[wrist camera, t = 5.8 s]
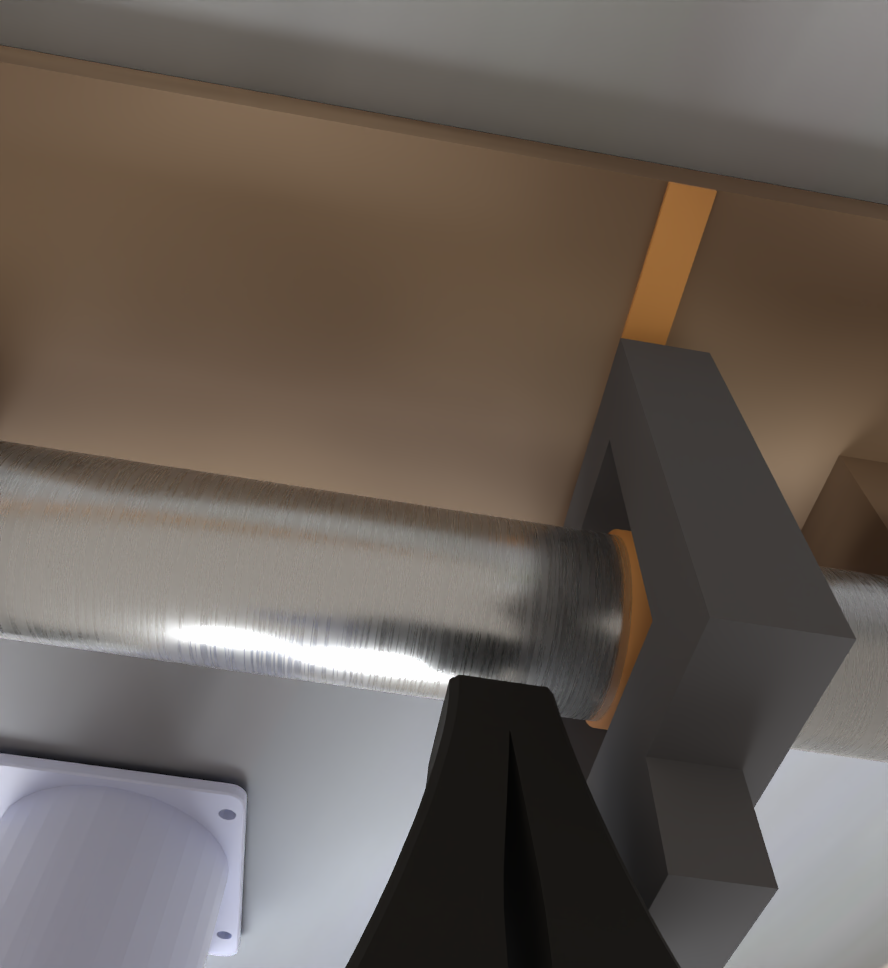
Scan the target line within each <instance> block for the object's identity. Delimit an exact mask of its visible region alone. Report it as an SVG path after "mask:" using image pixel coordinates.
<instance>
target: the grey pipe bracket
mask: <svg viewBox="0 0 888 968" xmlns="http://www.w3.org/2000/svg"><path fill="white" fill-rule="evenodd" d="M563 527H567V528H574V529H580V530H587V531H593V532H600V533H606V534H608V533H609V532H610V531H612V530H614V529H620V530H627V531H631V532H632V537H633V541H634V545H635V549H636V553H637V558H638V562H639V566H640V570H641V574H642V579H643V583H644V587H645V591H646V595H647V600H648V604H649V608H650V612H651V616H652V623H651V626H650V628H649V631H648V633H647V636H646V638H645V640H644V643H643V645H642V648H641V650H640V653H639V655H638V657H637V660H636V662H635V665H634V667H633V670H632V672H631V674H630V677H629V679H628V682H627V684H626V687H625V689H624V691H623V694H622V696H621V699H620V701H619V704H618V706H617V708H616V711H615V713H614V716H613V718H612V721H611V723H610V726H609V728H608V730H605V729H598V728H592V727H591V726H589V725H588V723H587V722H586V720H581V719H574V718H567V717H561V718H562V721H563V724H564V727H565V729H566V732H567V735H568V737H569V740H570V743H571V745H572V748H573V750H574V753H575V755H576V758H577V760H578V763H579V765H580V768H581V770H582V773H583V775H584V778H585V780H586V782H587V785H588V787H589V789H590V792H591V794H592V796H593V799H594V801H595V803H596V805H597V807H598V810H599V812H600V814H601V816H602V818H603V820H604V823H605V825H606V827H607V829H608V831H609V833H610V836H611V838H612V840H613V842H614V844H615V846H616V848H617V850H618V853H619V855H620V857H621V859H622V861H623V863H624V865H625V867H626V869H627V871H628V873H629V875H630V877H631V879H632V880H633V882H634V884H635V886H636V888H637V890H638V892H639V894H640V896H641V898H642V899H643V901H644V903H645V905H646V907H647V909H648V911H649V913H650V915H651V916H652V918H653V920H654V922H655V924H656V925H657V927H658V929H659V931H660V933H661V934H662V936H663V938H664V940H665V941H666V943H667V945H668V947H669V948H670V950H671V952H672V953H673V955H674V957H675V959H676V960H677V962H678V964H679V965H680V967H681V968H723V967H724V966H725V964H726V963H727V961H728V960H729V959H730V957H731V956H732V954H733V953H734V951H735V950H736V949H737V947H738V946H739V944H740V943H741V941H742V940H743V939H744V937H745V936H746V934H747V933H748V931H749V930H750V929H751V927H752V926H753V924H754V923H755V921H756V920H757V918H758V917H759V916H760V914H761V913H762V911H763V910H764V908H765V907H766V906H767V904H768V903H769V901H770V900H771V898H772V897H773V896H774V894H775V893H776V891H777V890H778V886H777V883H776V880H775V876H774V873H773V870H772V866H771V863H770V860H769V857H768V853H767V850H766V847H765V843H764V840H763V837H762V833H761V830H760V827H759V823H758V820H757V817H756V813H755V810H754V807H755V805H756V804H757V802H758V800H759V799H760V797H761V795H762V794H763V792H764V790H765V789H766V787H767V785H768V784H769V782H770V781H771V779H772V777H773V776H774V774H775V772H776V771H777V769H778V767H779V766H780V764H781V762H782V761H783V759H784V758H785V756H786V754H787V753H788V751H789V749H790V748H791V746H792V744H793V743H794V741H795V739H796V738H797V736H798V735H799V733H800V731H801V730H802V728H803V726H804V725H805V723H806V721H807V720H808V718H809V716H810V715H811V713H812V712H813V710H814V708H815V707H816V705H817V703H818V702H819V700H820V698H821V697H822V695H823V693H824V692H825V690H826V689H827V687H828V685H829V684H830V682H831V680H832V679H833V677H834V675H835V674H836V672H837V671H838V669H839V667H840V666H841V664H842V662H843V661H844V659H845V657H846V656H847V654H848V652H849V651H850V649H851V648H852V646H853V644H854V643H855V641H856V637H855V635H854V633H853V631H852V629H851V628H850V626H849V624H848V622H847V620H846V618H845V616H844V614H843V612H842V610H841V608H840V606H839V604H838V602H837V600H836V598H835V596H834V594H833V592H832V590H831V588H830V586H829V585H828V583H827V581H826V579H825V577H824V575H823V573H822V571H821V569H820V567H819V565H818V563H817V561H816V559H815V557H814V555H813V553H812V551H811V549H810V547H809V545H808V544H807V542H806V540H805V538H804V536H803V534H802V532H801V530H800V528H799V526H798V524H797V522H796V520H795V518H794V516H793V514H792V512H791V510H790V508H789V506H788V504H787V503H786V501H785V499H784V497H783V495H782V493H781V491H780V489H779V487H778V485H777V483H776V481H775V479H774V477H773V475H772V473H771V471H770V469H769V467H768V465H767V463H766V461H765V460H764V458H763V456H762V454H761V452H760V450H759V448H758V446H757V444H756V442H755V440H754V438H753V436H752V434H751V432H750V430H749V428H748V426H747V424H746V422H745V420H744V419H743V417H742V415H741V413H740V411H739V409H738V407H737V405H736V403H735V401H734V399H733V397H732V395H731V393H730V391H729V389H728V387H727V385H726V383H725V381H724V379H723V378H722V376H721V374H720V372H719V370H718V368H717V366H716V364H715V362H714V360H713V358H712V356H711V354H710V353H708V352H702V351H696V350H690V349H684V348H678V347H672V346H666V345H660V344H654V343H648V342H642V341H636V340H630V339H624V338H620V341H619V344H618V347H617V351H616V354H615V357H614V361H613V364H612V367H611V371H610V374H609V377H608V380H607V384H606V387H605V390H604V394H603V397H602V400H601V403H600V407H599V410H598V413H597V417H596V420H595V423H594V427H593V430H592V433H591V436H590V440H589V443H588V446H587V450H586V453H585V456H584V460H583V463H582V466H581V469H580V473H579V476H578V479H577V483H576V486H575V489H574V492H573V496H572V499H571V502H570V506H569V509H568V512H567V516H566V519H565V522H564V525H563Z"/></svg>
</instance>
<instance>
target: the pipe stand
mask: <svg viewBox="0 0 888 968" xmlns="http://www.w3.org/2000/svg"><path fill="white" fill-rule="evenodd" d="M620 338H624V339H630V340H636V341H642V342H648V343H654V344H660V345H666V346H672V347H678V348H684V349H690V350H696V351H702V352H708V353H710V354H711V356H712V358H713V360H714V362H715V364H716V366H717V368H718V370H719V372H720V374H721V376H722V378H723V379H724V381H725V383H726V385H727V387H728V389H729V391H730V393H731V395H732V397H733V399H734V401H735V403H736V405H737V407H738V409H739V411H740V413H741V415H742V417H743V419H744V420H745V422H746V424H747V426H748V428H749V430H750V432H751V434H752V436H753V438H754V440H755V442H756V444H757V446H758V448H759V450H760V452H761V454H762V456H763V458H764V460H765V461H766V463H767V465H768V467H769V469H770V471H771V473H772V475H773V477H774V479H775V481H776V483H777V485H778V487H779V489H780V491H781V493H782V495H783V497H784V499H785V501H786V503H787V504H788V506H789V508H790V510H791V512H792V514H793V516H794V518H795V520H796V522H797V524H798V526H799V528H800V530H801V532H802V534H803V536H804V538H805V540H806V542H807V544H808V545H809V547H810V549H811V551H812V553H813V555H814V557H815V559H816V561H817V563H818V565H819V567H820V569H821V571H822V573H823V575H824V577H825V579H826V581H827V583H828V585H829V586H830V588H831V590H832V592H833V594H834V596H835V598H836V600H837V602H838V604H839V606H840V608H841V610H842V612H843V614H844V616H845V618H846V620H847V622H848V624H849V626H850V628H851V629H852V631H853V633H854V635H855V637H856V641H855V643H854V644H853V646H852V648H851V649H850V651H849V652H848V654H847V656H846V657H845V659H844V661H843V662H842V664H841V666H840V667H839V669H838V671H837V672H836V674H835V675H834V677H833V679H832V680H831V682H830V684H829V685H828V687H827V689H826V690H825V692H824V693H823V695H822V697H821V698H820V700H819V702H818V703H817V705H816V707H815V708H814V710H813V712H812V713H811V715H810V716H809V718H808V720H807V721H806V723H805V725H804V726H803V728H802V730H801V731H800V733H799V735H798V736H797V738H796V739H795V741H794V743H793V744H792V746H791V748H790V749H795V750H802V751H809V752H816V753H823V754H830V755H837V756H845V757H852V758H859V759H866V760H873V761H880V762H887V763H888V205H884V204H879V203H873V202H868V201H862V200H857V199H851V198H845V197H840V196H834V195H829V194H823V193H818V192H812V191H807V190H801V189H796V188H790V187H784V186H779V185H773V184H768V183H762V182H757V181H751V180H746V179H740V178H735V177H729V176H723V175H718V174H712V173H707V172H701V171H696V170H690V169H685V168H679V167H673V166H668V165H662V164H657V163H651V162H646V161H640V160H635V159H629V158H624V157H618V156H612V155H607V154H601V153H596V152H590V151H585V150H579V149H574V148H568V147H563V146H557V145H551V144H546V143H540V142H535V141H529V140H524V139H518V138H513V137H507V136H501V135H496V134H490V133H485V132H479V131H474V130H468V129H463V128H457V127H452V126H446V125H440V124H435V123H429V122H424V121H418V120H413V119H407V118H402V117H396V116H391V115H385V114H379V113H374V112H368V111H363V110H357V109H352V108H346V107H341V106H335V105H329V104H324V103H318V102H313V101H307V100H302V99H296V98H291V97H285V96H280V95H274V94H268V93H263V92H257V91H252V90H246V89H241V88H235V87H230V86H224V85H219V84H213V83H207V82H202V81H196V80H191V79H185V78H180V77H174V76H169V75H163V74H157V73H152V72H146V71H141V70H135V69H130V68H124V67H119V66H113V65H108V64H102V63H96V62H91V61H85V60H80V59H74V58H69V57H63V56H58V55H52V54H47V53H41V52H35V51H30V50H24V49H19V48H13V47H8V46H2V45H0V638H3V639H10V640H18V641H25V642H32V643H39V644H46V645H53V646H60V647H67V648H75V649H82V650H89V651H96V652H103V653H110V654H117V655H125V656H132V657H139V658H146V659H153V660H160V661H167V662H174V663H182V664H189V665H196V666H203V667H210V668H217V669H224V670H231V671H239V672H246V673H253V674H260V675H267V676H274V677H281V678H289V679H296V680H303V681H310V682H317V683H324V684H331V685H338V686H346V687H353V688H360V689H367V690H374V691H381V692H388V693H395V694H403V695H410V696H417V697H424V698H431V699H438V700H444V699H445V695H446V691H447V687H448V682H449V679H451V678H453V677H455V676H457V675H459V674H460V675H467V676H474V677H481V678H488V679H495V680H502V681H509V682H516V683H522V684H529V685H536V686H543V687H548V688H549V689H550V691H551V692H552V693H553V694H554V697H555V700H556V703H557V707H558V709H559V712H560V715H561V717H567V718H574V719H581V720H586V722H587V723H588V725H589V726H591V727H592V728H598V729H605V730H608V728H609V726H610V723H611V721H612V718H613V716H614V713H615V711H616V708H617V706H618V704H619V701H620V699H621V696H622V694H623V691H624V689H625V687H626V684H627V682H628V679H629V677H630V674H631V672H632V670H633V667H634V665H635V662H636V660H637V657H638V655H639V653H640V650H641V648H642V645H643V643H644V640H645V638H646V636H647V633H648V631H649V628H650V626H651V623H652V616H651V612H650V608H649V604H648V600H647V595H646V591H645V587H644V583H643V579H642V574H641V570H640V566H639V562H638V558H637V553H636V549H635V545H634V541H633V537H632V532H631V531H627V530H620V529H614V530H612V531H610V532H609V533H608V534H606V533H600V532H593V531H587V530H580V529H574V528H567V527H563V525H564V522H565V519H566V516H567V512H568V509H569V506H570V502H571V499H572V496H573V492H574V489H575V486H576V483H577V479H578V476H579V473H580V469H581V466H582V463H583V460H584V456H585V453H586V450H587V446H588V443H589V440H590V436H591V433H592V430H593V427H594V423H595V420H596V417H597V413H598V410H599V407H600V403H601V400H602V397H603V394H604V390H605V387H606V384H607V380H608V377H609V374H610V371H611V367H612V364H613V361H614V357H615V354H616V351H617V347H618V344H619V341H620Z"/></svg>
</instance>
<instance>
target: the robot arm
mask: <svg viewBox="0 0 888 968" xmlns="http://www.w3.org/2000/svg"><path fill="white" fill-rule="evenodd" d="M246 811H247V794H246V792H245V791H244V790H243V789H242V788H241V787H240V786H238V785H235V784H231V783H223V782H215V781H208V780H200V779H193V778H185V777H178V776H170V775H163V774H155V773H148V772H140V771H132V770H125V769H117V768H110V767H102V766H95V765H87V764H80V763H72V762H65V761H57V760H49V759H42V758H34V757H27V756H19V755H12V754H4V753H0V968H204V967H205V963H206V959H207V955H217V956H233V955H234V954H236V953H237V952H238V949H239V945H240V938H241V917H242V896H243V874H244V853H245V832H246ZM345 968H681V967H680V965H679V964H678V962H677V960H676V959H675V957H674V955H673V953H672V952H671V950H670V948H669V947H668V945H667V943H666V941H665V940H664V938H663V936H662V934H661V933H660V931H659V929H658V927H657V925H656V924H655V922H654V920H653V918H652V916H651V915H650V913H649V911H648V909H647V907H646V905H645V903H644V901H643V899H642V898H641V896H640V894H639V892H638V890H637V888H636V886H635V884H634V882H633V880H632V879H631V877H630V875H629V873H628V871H627V869H626V867H625V865H624V863H623V861H622V859H621V857H620V855H619V853H618V850H617V848H616V846H615V844H614V842H613V840H612V838H611V836H610V833H609V831H608V829H607V827H606V825H605V823H604V820H603V818H602V816H601V814H600V812H599V810H598V807H597V805H596V803H595V801H594V799H593V796H592V794H591V792H590V789H589V787H588V785H587V782H586V780H585V778H584V775H583V773H582V770H581V768H580V765H579V763H578V760H577V758H576V755H575V753H574V750H573V748H572V745H571V743H570V740H569V737H568V735H567V732H566V729H565V727H564V724H563V721H562V718H561V715H560V712H559V709H558V707H557V703H556V700H555V697H554V694H553V693H552V692H551V691H550V689H549V688H548V687H543V686H536V685H529V684H522V683H516V682H509V681H502V680H495V679H488V678H481V677H474V676H467V675H460V674H459V675H457V676H455V677H453V678H451V679H449V682H448V687H447V691H446V695H445V699H444V703H443V707H442V711H441V716H440V720H439V724H438V728H437V732H436V736H435V740H434V744H433V749H432V753H431V757H430V761H429V767H428V775H427V783H426V789H425V792H424V795H423V798H422V801H421V803H420V806H419V809H418V812H417V814H416V817H415V819H414V822H413V824H412V827H411V829H410V832H409V834H408V836H407V839H406V841H405V843H404V846H403V848H402V851H401V853H400V855H399V858H398V860H397V862H396V865H395V867H394V870H393V872H392V874H391V876H390V879H389V881H388V883H387V885H386V887H385V889H384V892H383V894H382V896H381V898H380V900H379V902H378V904H377V906H376V908H375V911H374V913H373V915H372V917H371V919H370V921H369V923H368V925H367V927H366V929H365V931H364V933H363V935H362V937H361V939H360V941H359V943H358V945H357V947H356V949H355V951H354V953H353V954H352V956H351V958H350V960H349V962H348V964H347V966H346V967H345Z"/></svg>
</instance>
